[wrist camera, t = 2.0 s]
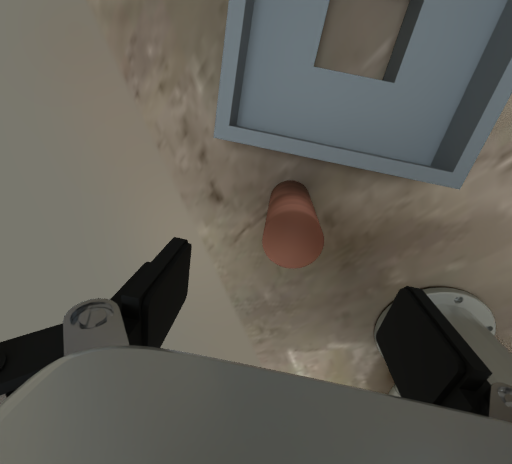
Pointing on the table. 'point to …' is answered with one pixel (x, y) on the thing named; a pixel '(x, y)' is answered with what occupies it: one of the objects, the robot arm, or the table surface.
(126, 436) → the robot arm
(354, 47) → the table surface
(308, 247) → the peg
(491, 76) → the tray
